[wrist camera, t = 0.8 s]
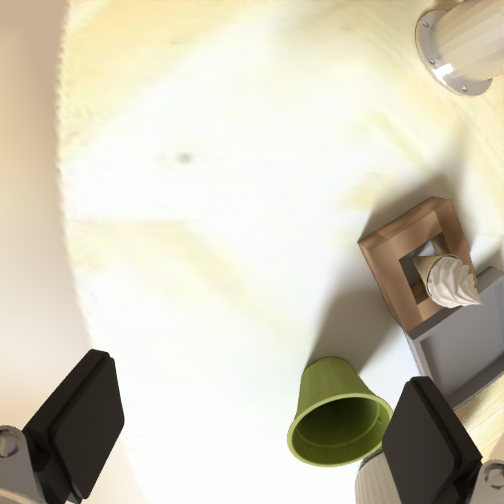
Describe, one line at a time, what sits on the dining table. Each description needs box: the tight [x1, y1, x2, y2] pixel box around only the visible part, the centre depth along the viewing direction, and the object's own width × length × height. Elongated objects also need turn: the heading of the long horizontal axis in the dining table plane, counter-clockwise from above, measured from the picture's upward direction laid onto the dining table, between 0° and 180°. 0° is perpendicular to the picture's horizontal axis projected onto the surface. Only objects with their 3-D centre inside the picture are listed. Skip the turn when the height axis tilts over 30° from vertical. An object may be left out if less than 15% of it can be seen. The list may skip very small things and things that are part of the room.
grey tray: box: [403, 266, 504, 411], centre depth 37 cm, size 16×18×4 cm
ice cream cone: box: [412, 254, 482, 308], centre depth 29 cm, size 5×5×15 cm
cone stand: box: [357, 197, 478, 332], centre depth 34 cm, size 11×11×4 cm
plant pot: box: [287, 357, 393, 467], centre depth 35 cm, size 12×12×11 cm
